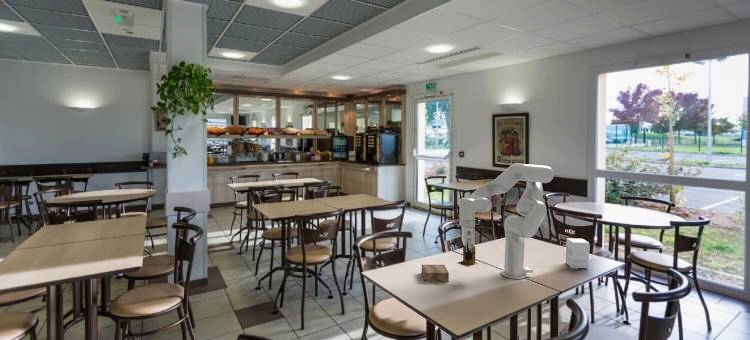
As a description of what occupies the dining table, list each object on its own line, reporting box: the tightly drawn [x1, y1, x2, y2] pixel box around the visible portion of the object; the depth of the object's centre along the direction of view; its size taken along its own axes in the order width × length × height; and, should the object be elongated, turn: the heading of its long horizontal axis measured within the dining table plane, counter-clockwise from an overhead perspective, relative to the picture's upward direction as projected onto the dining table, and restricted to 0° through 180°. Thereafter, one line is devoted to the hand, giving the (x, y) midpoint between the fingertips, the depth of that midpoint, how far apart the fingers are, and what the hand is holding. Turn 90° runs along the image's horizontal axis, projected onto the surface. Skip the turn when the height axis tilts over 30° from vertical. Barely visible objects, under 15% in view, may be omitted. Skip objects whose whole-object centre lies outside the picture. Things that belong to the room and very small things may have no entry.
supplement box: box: [565, 238, 590, 269], centre depth 212 cm, size 9×9×15 cm
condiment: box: [456, 240, 480, 268], centre depth 188 cm, size 7×8×12 cm
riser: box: [421, 264, 450, 283], centre depth 194 cm, size 12×12×5 cm
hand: (467, 257), depth 189 cm, fingers closed on condiment, 6 cm apart
